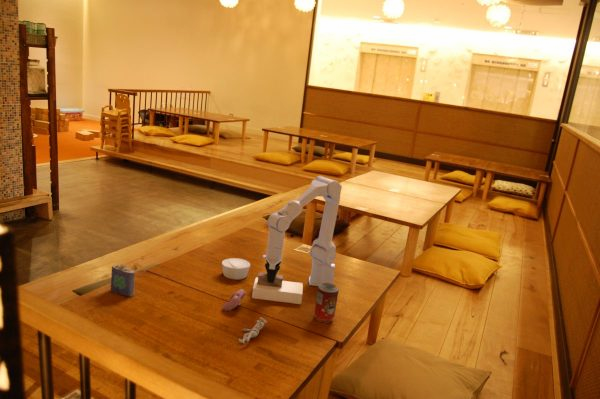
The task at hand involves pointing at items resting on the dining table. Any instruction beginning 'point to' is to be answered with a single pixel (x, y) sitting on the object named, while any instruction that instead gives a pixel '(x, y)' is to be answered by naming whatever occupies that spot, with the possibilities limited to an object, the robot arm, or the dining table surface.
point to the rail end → (263, 280)
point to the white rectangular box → (279, 292)
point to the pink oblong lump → (234, 300)
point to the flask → (122, 281)
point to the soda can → (326, 302)
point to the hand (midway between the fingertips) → (271, 280)
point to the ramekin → (235, 268)
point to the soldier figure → (253, 330)
